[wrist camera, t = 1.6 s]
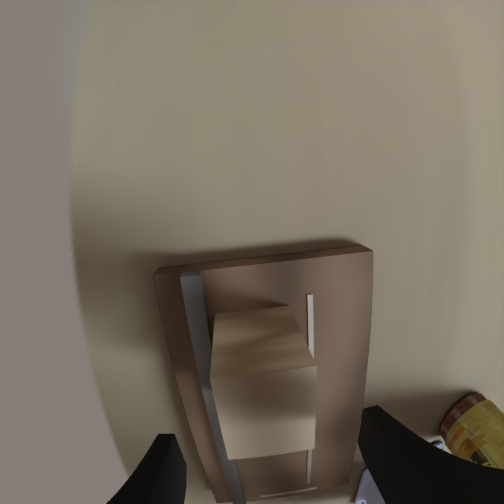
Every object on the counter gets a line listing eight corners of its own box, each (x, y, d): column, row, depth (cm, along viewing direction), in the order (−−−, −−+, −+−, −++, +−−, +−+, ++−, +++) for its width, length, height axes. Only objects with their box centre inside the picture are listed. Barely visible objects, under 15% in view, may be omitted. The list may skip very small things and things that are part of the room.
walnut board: (362, 245, 18) (379, 254, 16) (343, 472, 23) (349, 489, 21) (158, 267, 17) (149, 280, 15) (216, 491, 22) (216, 509, 20)
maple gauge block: (299, 303, 17) (332, 363, 11) (301, 377, 18) (326, 445, 12) (215, 313, 17) (209, 379, 11) (226, 386, 18) (228, 459, 12)
